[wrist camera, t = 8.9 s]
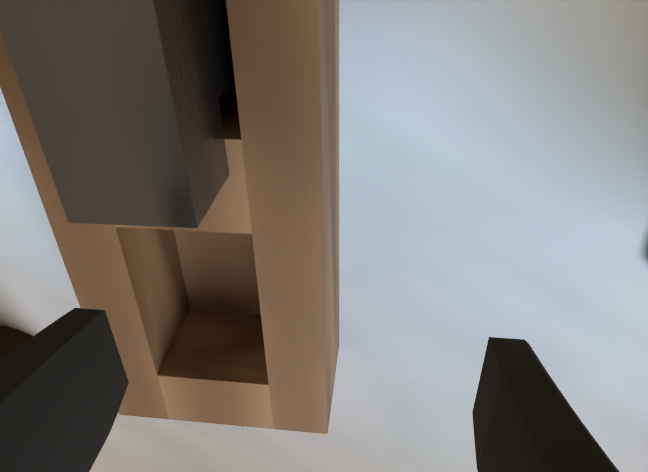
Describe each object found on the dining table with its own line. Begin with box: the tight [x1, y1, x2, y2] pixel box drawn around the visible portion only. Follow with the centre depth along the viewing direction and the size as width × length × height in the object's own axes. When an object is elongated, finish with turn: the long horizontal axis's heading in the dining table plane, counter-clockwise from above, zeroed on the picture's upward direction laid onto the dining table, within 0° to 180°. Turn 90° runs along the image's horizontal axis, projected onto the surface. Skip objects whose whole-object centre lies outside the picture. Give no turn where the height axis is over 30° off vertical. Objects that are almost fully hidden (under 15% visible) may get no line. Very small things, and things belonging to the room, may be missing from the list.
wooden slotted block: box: [0, 0, 339, 434], centre depth 16 cm, size 8×20×4 cm, turn 1°
